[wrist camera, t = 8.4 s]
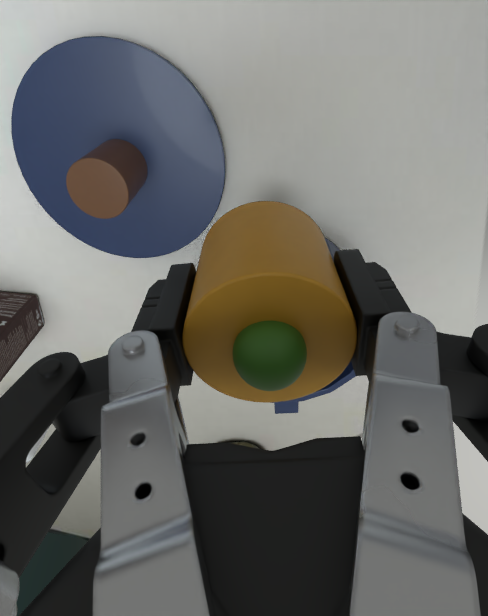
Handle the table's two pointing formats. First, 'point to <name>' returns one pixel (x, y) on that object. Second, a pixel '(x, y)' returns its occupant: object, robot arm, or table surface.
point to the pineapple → (267, 307)
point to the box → (17, 326)
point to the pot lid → (118, 146)
